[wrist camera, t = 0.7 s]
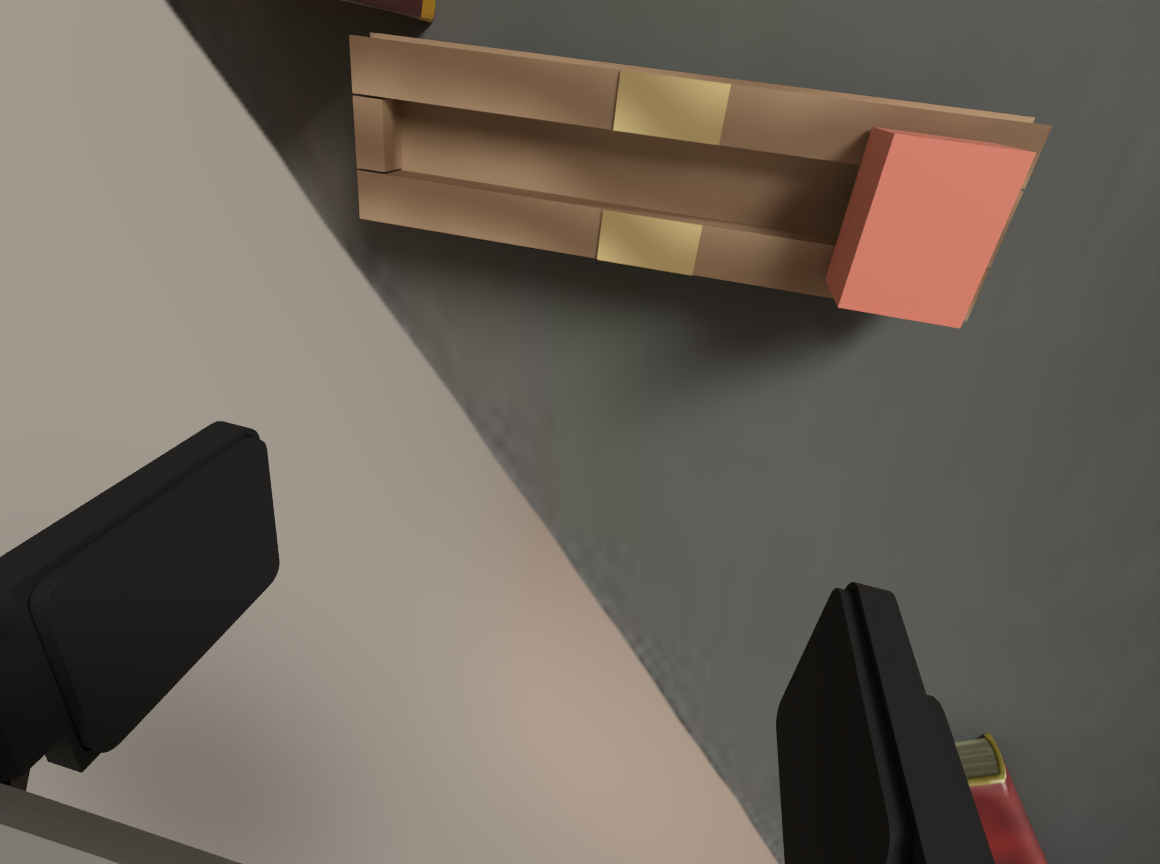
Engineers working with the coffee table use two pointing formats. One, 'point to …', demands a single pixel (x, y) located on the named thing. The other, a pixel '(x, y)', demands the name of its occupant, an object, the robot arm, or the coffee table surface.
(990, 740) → the hardcover book
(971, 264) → the block
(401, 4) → the supplement box
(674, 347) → the coffee table surface
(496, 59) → the beam
